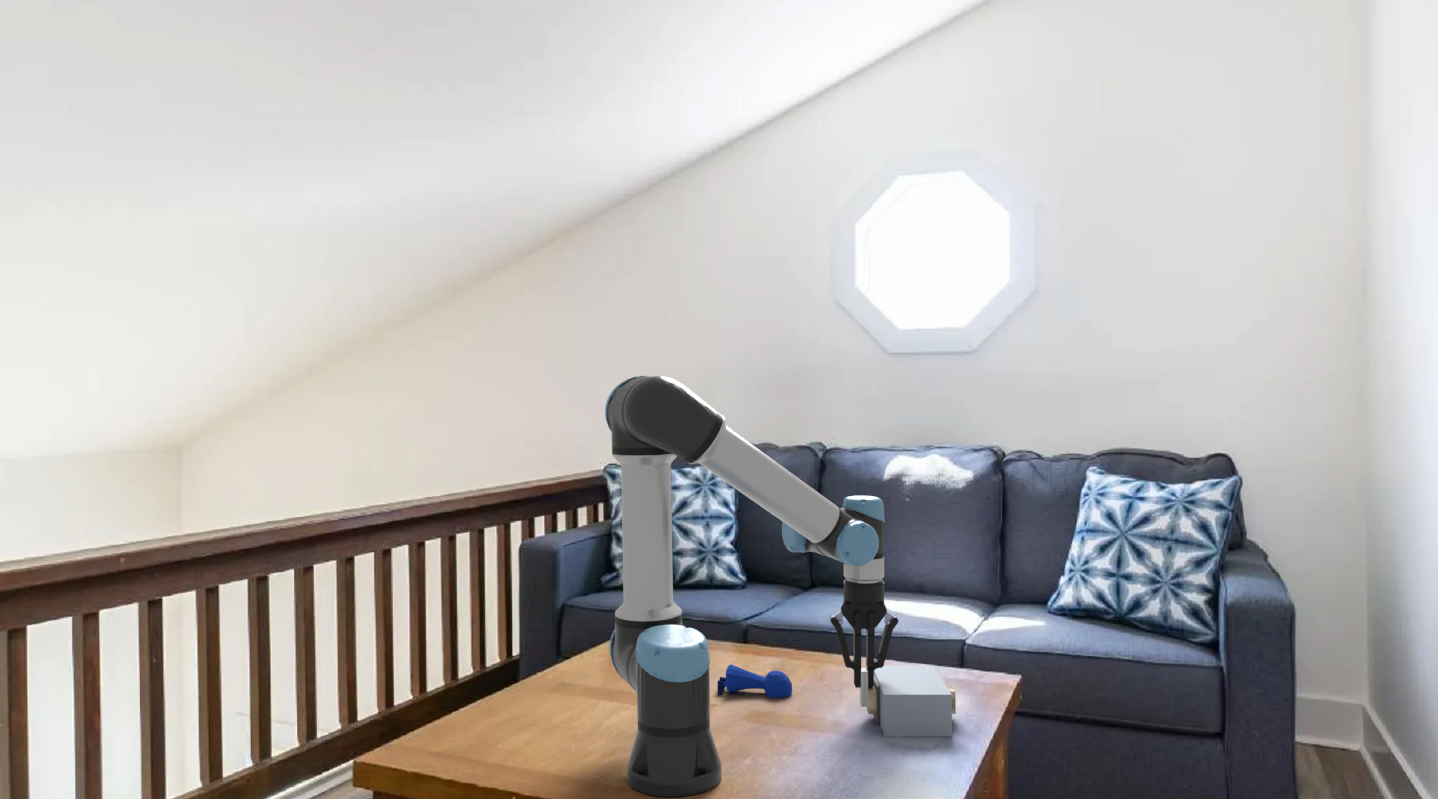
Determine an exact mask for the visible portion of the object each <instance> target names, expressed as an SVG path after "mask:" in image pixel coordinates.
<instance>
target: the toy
mask: <svg viewBox="0 0 1438 799" xmlns="http://www.w3.org/2000/svg"><path fill="white" fill-rule="evenodd" d="M792 684H793V683H792V681H791V679H790V678H789V676H788V675H787V674H786V673H784V672H783V671H781V670H771V671H768V672H767V674H766V675H765V676H763V675H760V674H758V673H755V672H752V671H749V670H746V669H744V668H741V667H739V666H736V665H733V664H728V666H727V668H726V669H725V676H719V679H718V680H717V695H719V696H720V695H723V692H724V690H725V689H726V691H727V692H728V693H730V694H732V693H736V692H739V691H743V690H753V689H755V690H756V689H758V690H764V692H765V696H766V697H768V698H770V699H784V698H787V697H789V696H791V694H793V685H792Z"/></svg>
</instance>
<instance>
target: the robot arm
mask: <svg viewBox="0 0 1438 799" xmlns="http://www.w3.org/2000/svg"><path fill="white" fill-rule="evenodd" d="M604 415H605V421H606V424H607V427H608V429H609V431H610V432H611V455H612V457H613V458H614V459H615V460H616V461H617V462H618V463H619V465H620V471H621V473H620V474H621V475H620V477H621V478H620V481H621V487H620V488H621V526H622V527H621V528H622V529H621V531H622V532H621V534H622V535H621V536H622V583H623V584H622V585H623V587H622V588H623V593H622V594H623V602H622V604H621V605H620V606H619V607H618V608H617V609H616V610H615V611H614V620H615V621H614V630H613V631H612V634H611V636H610V640H609V646H608V647H609V649H608V650H609V656H610V661H611V663H612V666H613V667H614V670H615V671H616V673H617V674H618V676H619V677H620V678H621V679H622V680H624V681H625V682H626V683H627V684H628V685H629V686H630V687H631V689H633V690H634V692H636V696H637V697H636V699H637V700H636V701H637V702H636V704H637V705H636V706H637V708H636V709H637V732H636V737H635V740H634V743H633V747H632V749H631V753H630V756H629V760H628V763H627V767H626V768H627V769H626V770H627V772H626V774H627V779H626V780H627V783H628V785H629V786H630V787H631V788H633V789H634V790H635V791H637V792H640V793H643V794H646V795H650V796H657V797H669V798H670V797H673V798H674V797H685V796H692V795H697V794H701V793H704V792H707V791H709V790H711V789H714V788H715V787H716V786H718V785H719V783H720V782H721V780H722V761H721V759H720V755H719V753H718V749H717V747H716V744H715V740H714V738H713V734H712V732H711V724H710V723H711V720H710V719H711V717H710V716H711V715H710V714H711V711H710V710H711V708H710V707H711V706H710V702H711V701H710V698H711V697H710V691H711V690H710V685H711V683H710V665H711V653H710V651H709V643H708V639H707V638H706V636H705V635H704V634H703V633H702V632H700V631H699V630H697V629H696V628H692V627H686V626H685V625H683V610H682V608H681V607H680V606H679V605H678V604H676V602H675V601H674V585H673V584H674V581H673V580H674V579H673V578H674V577H673V575H674V574H673V571H674V570H673V569H674V568H673V523H672V521H673V518H672V517H673V516H672V512H673V511H672V463H673V461H675V460H676V458H677V457H678V458H680V459H682V461H684V462H686V463H687V464H689V465H695V464H699V465H701V467H704V469H707V470H708V471H709V472H711V474H714V475H715V476H716V477H717V478H719V479H721V480H722V481H724V482H725V483H727V484H728V485H729V486H731V487H732V488H734V489H735V490H737V492H739V493H741V494H743V495H744V496H745V497H747V498H748V499H749V500H751V501H752V502H754V503H755V504H757V505H758V506H760V507H761V508H762V509H764V510H765V511H767V512H768V513H770V514H771V515H772V516H774V517H776V518H777V519H779V520H780V521H781V522H782V524H781V534H782V535H781V536H782V541H783V544H784V546H785V548H786V549H787V550H788V551H789V552H791V553H802V554H804V553H808V552H810V553H815V554H816V553H817V554H819V555H821V556H825V557H827V558H830V559H834V560H836V561H839V562H840V563H842V564H843V576H844V578H845V579H844V580H843V602H842V605H841V607H840V611H838V612H836V613H835V614H831V615H830V616H829V621H830V623H831V624H832V626H833V627H834V629H835V631H836V635H837V639H838V643H839V646H840V651H841V654H842V658H843V659H842V660H843V662H844V665H845V667H846V668H847V669H851V670H853V684H854V687H855V688H857V689H858V688H859V704H860V707H861V708H862V707H863V708H865V707H868V688H873V686H874V670H875V669H877V668H882V667H883V666H885V665H884V664H885V663H886V661H885V660H886V658H887V654H888V650H889V647H890V643H891V638H892V635H893V632H894V629H895V628H896V626H897V625H898V623H899V618H898V617H897V616H896V614H892V613H891V612H889V611H888V609H887V607H886V604H885V582H884V580H883V578H884V577H885V523H886V520H885V508H884V502H883V500H882V498H880V497H877V496H872V495H852V496H846V497H844V498H843V502H842V503H843V504H842V507H838V505H836V504H835V503H834V502H832V501H831V500H829V499H828V498H827V497H825V496H824V495H822V494H821V493H820V492H818V491H817V490H816V489H814V488H813V487H811V485H809V484H807V483H806V482H805V481H803V480H801V479H800V478H799V477H798V476H796V475H795V474H794V473H792V472H790V471H789V470H788V469H787V468H785V467H784V466H782V465H781V464H779V463H778V461H775V460H774V459H773V458H771V457H770V456H768V455H767V454H766V453H765V452H763V451H762V450H760V449H759V448H758V447H756V446H755V445H753V444H752V443H751V442H750V441H748V440H746V439H745V438H744V437H742V436H741V435H740V434H738V433H737V432H735V431H734V430H733V429H731V428H730V427H729V426H727V424H726V420H725V416H724V415H723V414H721V413H720V412H718V411H717V410H716V409H715V408H713V407H712V406H711V405H709V404H708V403H707V402H706V401H704V400H703V399H702V398H701V397H699V396H698V395H697V394H695V393H694V392H693V391H692V390H691V389H689V388H688V387H687V386H686V385H684V384H683V383H681V382H679V381H677V379H674V378H672V377H667V376H662V375H659V376H658V375H654V376H647V375H646V376H645V375H639V376H633V377H631V378H630V377H629V378H627V379H625V380H623V381H622V382H620V383H619V384H617V385H616V386H615V388H613V389H612V391H611V392H610V394H609V395H608V397H607V400H606V403H605V409H604ZM843 618H845V620H846V621H847V623H848V624H849V625H850V627H851V628H852V633H853V634H852V635H853V637H852V638H853V639H852V640H853V643H852V644H853V645H852V646H853V651H852V652H853V659H851V656H850V653H849V649H848V644H847V641H846V636H845V633H844V630H843V627H842V625H843V624H844V620H843ZM883 619H884V620H883ZM882 620H883V621H884V624H885V625H884V628H883V631H882V635H881V639H880V643H879V647H878V651H877V654H876V657H875V635H876V632H875V631H876V628H877V627H878V626H879V624H880V623H881V621H882ZM862 630H865V631H866V635H865V637H866V643H865V644H866V646H865V647H866V650H865V652H866V655H865V657H866V658H865V659H866V660H865V666H866V667H862ZM875 658H876V659H875Z"/></svg>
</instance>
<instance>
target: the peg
mask: <svg viewBox="0 0 1438 799" xmlns="http://www.w3.org/2000/svg"><path fill="white" fill-rule="evenodd" d="M946 686H947V688H948V689H949V691H950V692H951V694H952V715H956V713H957V711H956V710H957V709H956V708H957V707H956V706H957V704H956V703H957V702H956V700H957V698H956V693H957V692H956V690H955V688H954V687H953V685H952V684H946ZM866 711H867V712H868V715H874V714H877V712H876V689H875V686H873V688H868V707H866Z"/></svg>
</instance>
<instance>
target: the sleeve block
mask: <svg viewBox="0 0 1438 799" xmlns="http://www.w3.org/2000/svg"><path fill="white" fill-rule="evenodd" d="M946 685H947V684H946V683H945V681H944V679H943V678H942V676H941V675H940V673H939V672H938V670H937V668H936V667H935V665H884V666H883V667H882V668H877V669H875V670H874V686H875V689H876V712H877V714H873V715H874V718H875V721H876V724H879V726H880V728H881V730H882V733H883V736H884V737H953V714H952V694H951V692H950V691H949V689H948V688H947V686H946Z"/></svg>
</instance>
